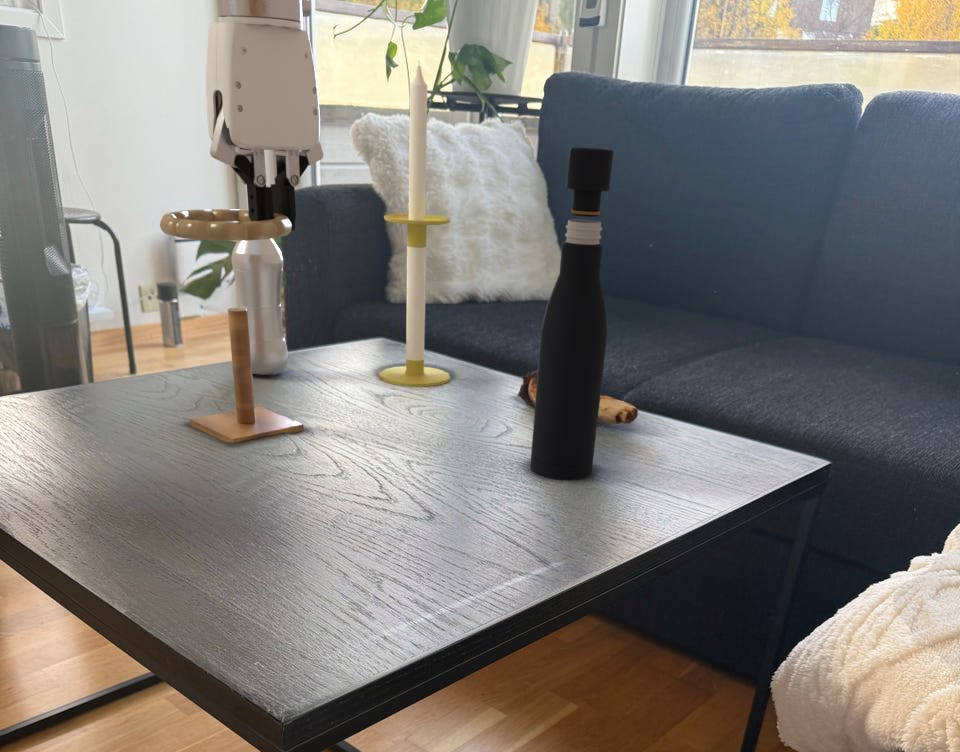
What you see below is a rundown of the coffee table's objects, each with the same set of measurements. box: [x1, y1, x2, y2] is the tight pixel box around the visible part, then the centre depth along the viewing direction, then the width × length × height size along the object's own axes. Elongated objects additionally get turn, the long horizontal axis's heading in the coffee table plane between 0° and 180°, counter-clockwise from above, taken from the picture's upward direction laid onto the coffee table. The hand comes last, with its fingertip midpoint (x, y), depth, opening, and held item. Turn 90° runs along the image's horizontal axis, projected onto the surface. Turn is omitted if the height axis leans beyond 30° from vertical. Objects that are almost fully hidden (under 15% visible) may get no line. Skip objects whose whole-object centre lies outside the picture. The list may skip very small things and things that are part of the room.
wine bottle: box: [529, 147, 614, 481], centre depth 88 cm, size 6×6×30 cm
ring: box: [159, 208, 292, 242], centre depth 89 cm, size 12×12×2 cm
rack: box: [189, 307, 304, 444], centre depth 100 cm, size 9×9×13 cm
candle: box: [378, 60, 452, 387], centre depth 119 cm, size 10×10×38 cm
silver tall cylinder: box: [230, 238, 289, 376], centre depth 121 cm, size 6×7×20 cm
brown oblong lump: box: [517, 370, 639, 425], centre depth 112 cm, size 9×5×18 cm
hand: (273, 228), depth 92 cm, fingers closed on ring, 1 cm apart
